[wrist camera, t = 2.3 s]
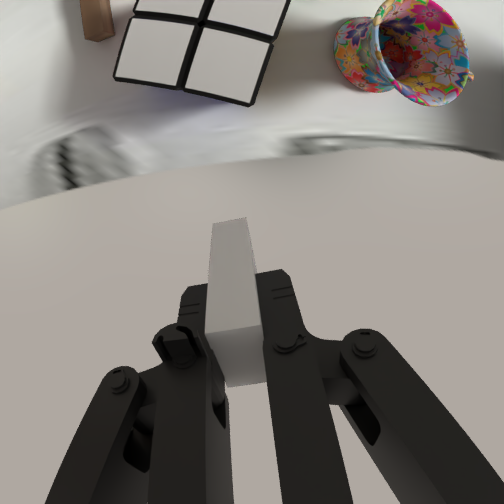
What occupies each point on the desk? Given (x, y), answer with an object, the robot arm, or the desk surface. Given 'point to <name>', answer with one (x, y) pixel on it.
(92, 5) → the channel
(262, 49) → the puzzle cube
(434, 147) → the desk surface
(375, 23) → the mug
